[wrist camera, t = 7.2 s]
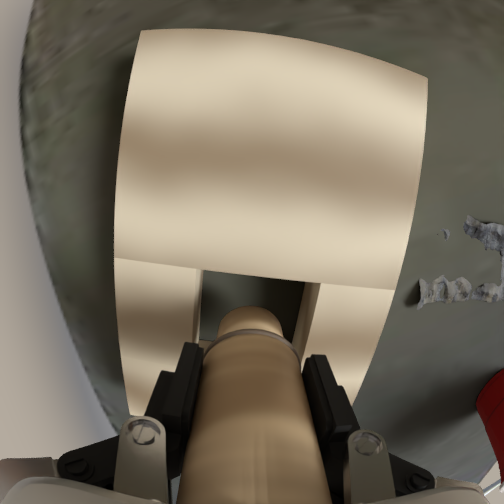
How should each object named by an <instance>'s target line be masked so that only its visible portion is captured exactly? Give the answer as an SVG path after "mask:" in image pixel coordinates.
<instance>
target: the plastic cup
mask: <svg viewBox="0 0 504 504" xmlns="http://www.w3.org/2000/svg"><path fill="white" fill-rule="evenodd" d="M476 406H477V410H478V413H479V415H480V417H481V419H482V421H483V424H484V426H485V430H486V432H487V435H488V437H489V440H490V442H491V445H492V447H493V450H494V453H495V455H496V458H497V461H498V464H499V469H500V476H501V485H500V493H501V492H504V369H503V370H501V371H500V372H499V373H497V374H496V375H495V376H494V377H493V378H492V379H491V380H490V381H489V382H488V383H487V384H486V385H485V387H484V388H483V389H482V391H481V393H480V394H479V396H478V398H477V401H476Z"/></svg>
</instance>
